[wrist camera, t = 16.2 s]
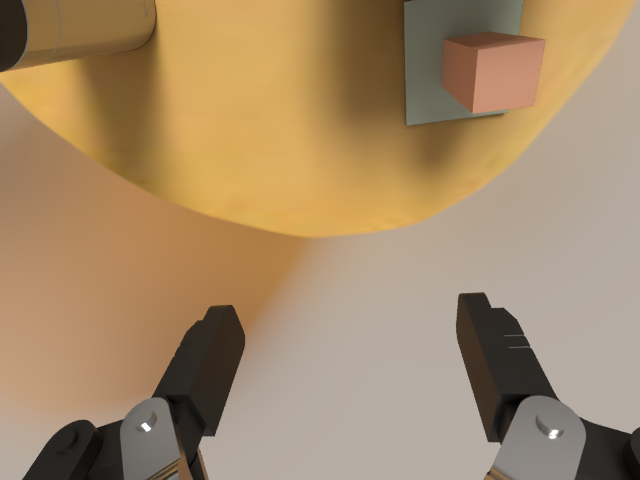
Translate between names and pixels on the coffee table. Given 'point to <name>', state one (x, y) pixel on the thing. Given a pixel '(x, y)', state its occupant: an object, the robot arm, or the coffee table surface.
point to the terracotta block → (492, 70)
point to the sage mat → (427, 50)
